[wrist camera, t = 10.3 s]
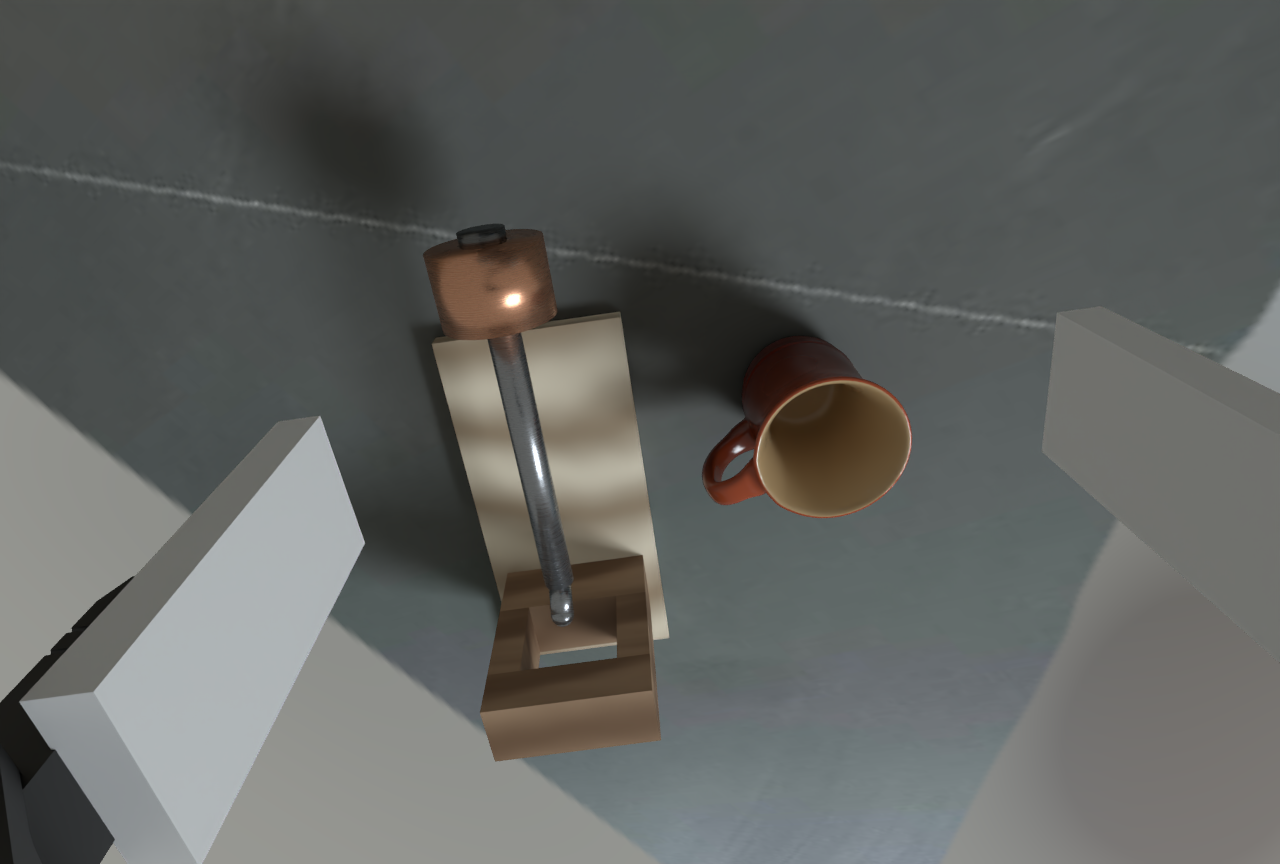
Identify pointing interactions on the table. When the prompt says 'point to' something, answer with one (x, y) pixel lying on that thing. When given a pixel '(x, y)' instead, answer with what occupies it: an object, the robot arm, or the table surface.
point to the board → (558, 449)
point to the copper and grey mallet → (509, 362)
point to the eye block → (573, 665)
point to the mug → (811, 434)
